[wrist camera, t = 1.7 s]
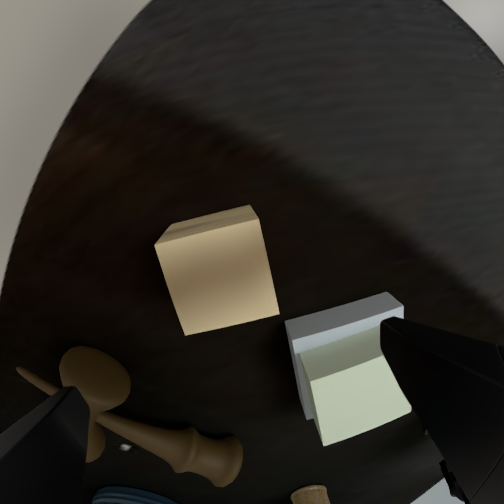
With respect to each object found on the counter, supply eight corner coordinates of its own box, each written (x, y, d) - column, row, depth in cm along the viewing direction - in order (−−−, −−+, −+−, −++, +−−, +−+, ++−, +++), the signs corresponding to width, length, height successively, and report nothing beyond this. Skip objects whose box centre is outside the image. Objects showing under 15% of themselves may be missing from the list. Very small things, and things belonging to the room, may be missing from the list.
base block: (384, 368, 24) (399, 388, 21) (298, 395, 24) (306, 419, 21) (384, 289, 22) (403, 305, 19) (283, 318, 22) (291, 340, 19)
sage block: (394, 388, 21) (410, 411, 18) (313, 418, 21) (323, 446, 18) (394, 319, 19) (416, 340, 16) (298, 352, 19) (309, 381, 16)
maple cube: (266, 278, 20) (279, 313, 16) (192, 296, 20) (185, 335, 16) (249, 204, 19) (258, 218, 14) (171, 224, 19) (154, 244, 14)
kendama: (207, 463, 26) (25, 382, 21) (256, 410, 25) (41, 307, 20) (210, 509, 21) (0, 421, 16) (268, 461, 19) (4, 345, 14)
